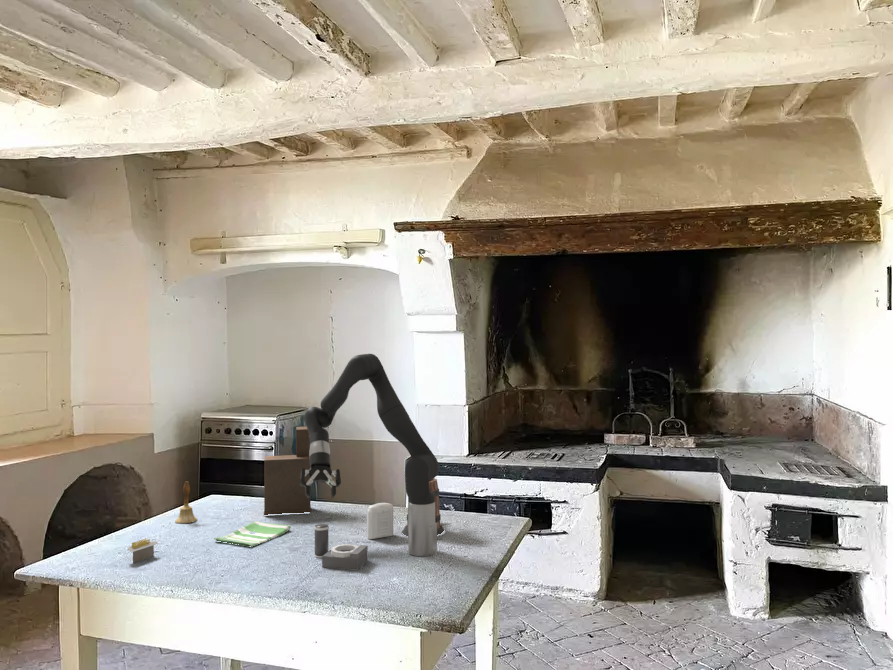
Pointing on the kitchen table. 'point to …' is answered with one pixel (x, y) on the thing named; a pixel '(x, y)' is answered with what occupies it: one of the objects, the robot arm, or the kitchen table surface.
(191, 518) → the hand bell
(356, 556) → the camera body
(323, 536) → the lens
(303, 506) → the brown box with post
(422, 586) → the kitchen table surface
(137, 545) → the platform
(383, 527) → the photo printer
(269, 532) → the dish towel
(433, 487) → the tankard
